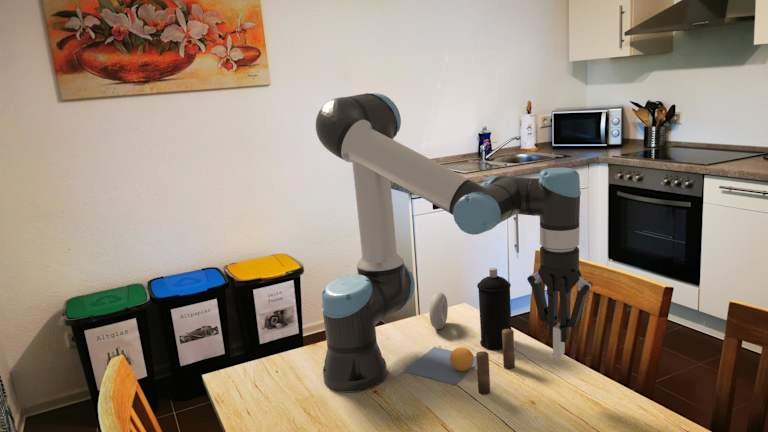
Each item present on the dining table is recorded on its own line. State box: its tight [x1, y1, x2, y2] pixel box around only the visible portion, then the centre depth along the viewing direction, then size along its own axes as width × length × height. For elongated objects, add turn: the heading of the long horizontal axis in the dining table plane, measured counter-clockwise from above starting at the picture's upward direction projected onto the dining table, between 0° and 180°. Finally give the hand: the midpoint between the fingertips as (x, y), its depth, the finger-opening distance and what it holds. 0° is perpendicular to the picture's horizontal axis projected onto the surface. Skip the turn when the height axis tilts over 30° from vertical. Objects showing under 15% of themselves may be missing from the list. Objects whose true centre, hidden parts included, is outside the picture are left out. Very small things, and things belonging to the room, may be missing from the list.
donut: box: [429, 291, 449, 330], centre depth 165 cm, size 10×4×10 cm, turn 161°
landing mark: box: [402, 346, 477, 386], centre depth 145 cm, size 14×14×1 cm
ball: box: [450, 346, 474, 371], centre depth 142 cm, size 6×6×6 cm
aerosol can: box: [476, 267, 512, 351], centre depth 152 cm, size 8×8×20 cm
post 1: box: [475, 350, 491, 396], centre depth 131 cm, size 3×3×9 cm
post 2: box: [502, 328, 516, 370], centre depth 141 cm, size 3×3×9 cm
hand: (558, 354), depth 126 cm, fingers closed
